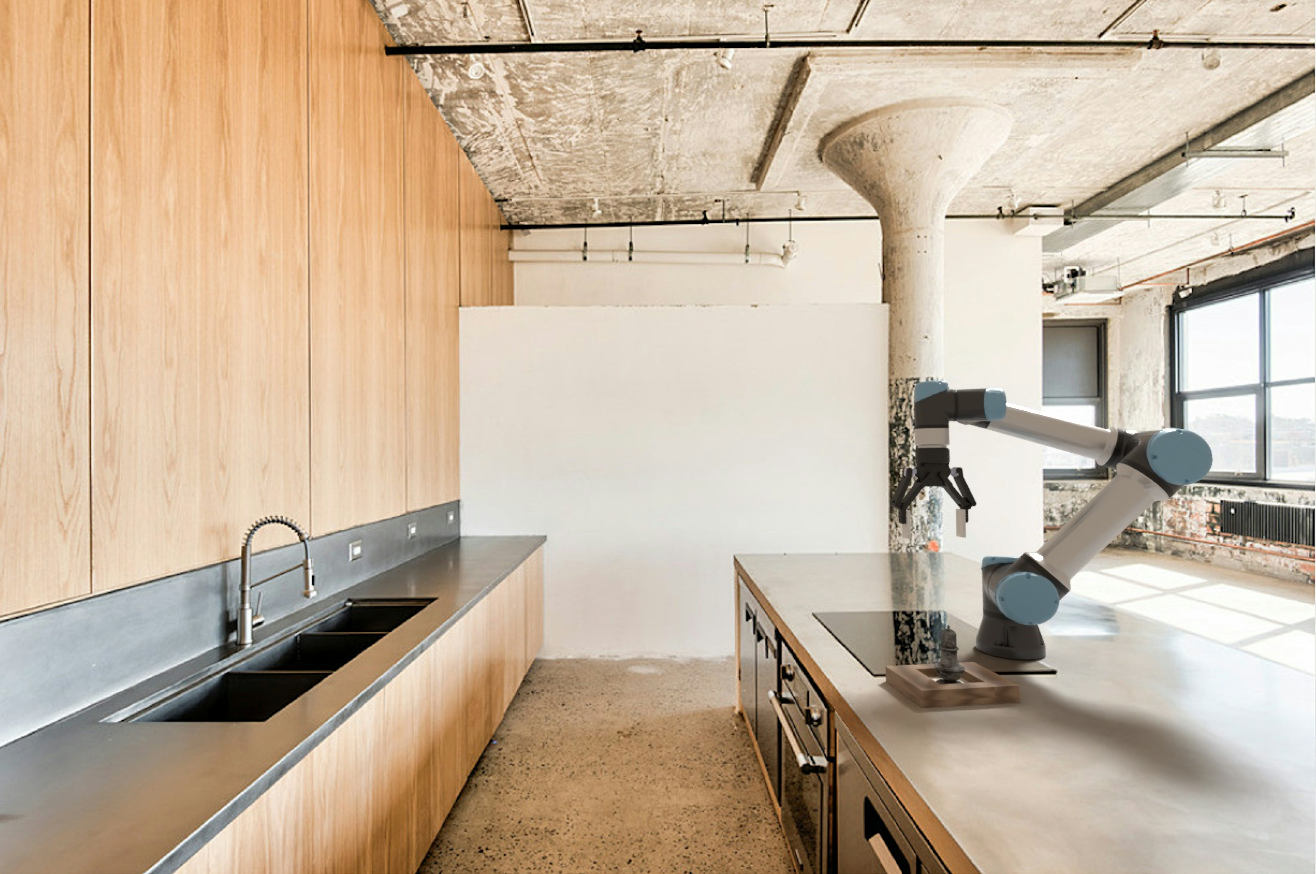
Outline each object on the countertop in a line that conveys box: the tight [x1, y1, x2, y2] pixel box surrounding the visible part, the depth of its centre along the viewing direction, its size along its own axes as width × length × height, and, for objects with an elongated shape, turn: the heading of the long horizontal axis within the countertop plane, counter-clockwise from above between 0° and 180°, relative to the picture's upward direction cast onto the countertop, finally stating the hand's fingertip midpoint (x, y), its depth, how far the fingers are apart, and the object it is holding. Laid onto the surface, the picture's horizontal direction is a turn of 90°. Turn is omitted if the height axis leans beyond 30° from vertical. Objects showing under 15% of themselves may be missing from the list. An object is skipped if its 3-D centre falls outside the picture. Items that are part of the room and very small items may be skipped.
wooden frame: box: [885, 661, 1021, 708], centre depth 134 cm, size 20×15×3 cm
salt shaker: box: [933, 624, 965, 684], centre depth 135 cm, size 6×6×12 cm
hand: (933, 537), depth 155 cm, fingers open, 13 cm apart
